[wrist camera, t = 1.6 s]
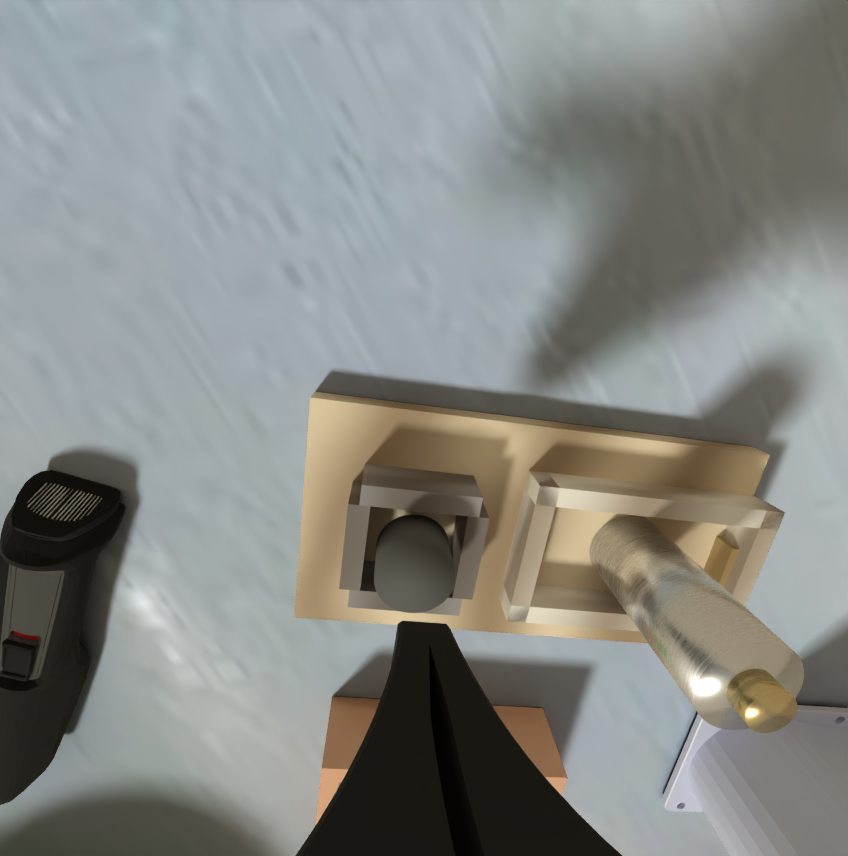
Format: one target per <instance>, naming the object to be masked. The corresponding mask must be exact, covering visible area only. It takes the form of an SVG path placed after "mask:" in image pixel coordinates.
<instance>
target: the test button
mask: <svg viewBox="0 0 848 856" xmlns="http://www.w3.org/2000/svg"><path fill="white" fill-rule="evenodd" d="M455 579H456V576H455V569H454V564H453V560H452V555H451V550H450V546H449V541H448V537H447V534H446V532H445V530H444V529H443V527H442V526H441V525H440V524H439V523H438V522H436V521H435V520H433V519H432V518H429V517H427V516H423V515H417V514H410V515H404V516H401V517H398V518H396V519H394V520H392V521H390V522H389V523H388V524H387V525H386V526H385V527H384V528H383V529H382V530H381V532H380V534H379V536H378V539H377V543H376V556H375V571H374V585H375V589H376V592H377V594H378V595H379V597H380V598H381V600H382V601H383V602H384V603H385V604H387V605H388V606H390V607H391V608H393V609H395V610H398V611H401V612H406V613H421V612H425V611H429V610H431V609H433V608H435V607H437V606H439V605H440V604H442V603H443V602H444V601H445V600H446V599H447V598H448V597H449V595H450V594H451V592H452V590H453V588H454V585H455Z"/></svg>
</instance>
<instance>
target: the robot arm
mask: <svg viewBox="0 0 848 856" xmlns="http://www.w3.org/2000/svg"><path fill="white" fill-rule="evenodd" d="M661 802H662V804H663V806H664V808H665V809H666V810H668V811H681V812H704V813H705V814H706V816H707V818H708V819H709V821H710V823H711V824H712V826H713V828H714V829H715V831H716V833H717V835H718V836H719V838H720V840H721V841H722V843H723V845H724V846H725V848H726V850H727V851H728V853H729V855H730V856H848V708H838V707H821V706H805V705H798V708H797V713H796V715H795V717H794V718H793V719H792V721H791V722H790V723H788V724H787V725H786V726H785V727H783V728H781V729H779V730H777V731H774V732H769V733H759V732H756V731H754V730H752V729H751V728H747V729H740V730H727V729H721V728H717V727H715V726H712V725H710V724H709V723H707V722H706V721H705V720H703V719H702V717H701V716H700V715H699V714H697V717H696V719H695V721H694V724H693V726H692V728H691V731H690V733H689V736H688V738H687V740H686V743H685V745H684V747H683V750H682V752H681V754H680V757H679V759H678V761H677V764H676V766H675V768H674V771H673V773H672V775H671V778H670V780H669V783H668V785H667V787H666V790H665V792H664V794H663V797H662V800H661ZM296 856H622V855H621V854H620V853H619V852H618V851H616V850H615V849H614V848H613V847H612V846H611V845H610V844H609V843H607V842H606V841H605V840H604V839H603V838H602V837H601V836H600V835H599V834H598V833H597V832H596V831H595V830H594V829H593V828H592V827H591V826H590V825H589V824H588V823H587V822H586V821H585V820H584V819H583V818H582V817H581V816H580V815H579V814H578V813H577V812H576V811H575V810H574V809H573V808H572V807H571V805H570V804H569V803H568V802H567V801H566V800H565V799H564V798H563V797H562V796H561V794H560V793H559V792H558V791H557V790H556V789H555V788H554V787H553V786H552V785H551V783H550V782H549V781H548V780H547V779H546V778H545V777H544V775H543V774H542V773H541V772H540V771H539V769H538V768H537V767H536V766H535V764H534V763H533V762H532V761H531V760H530V758H529V757H528V756H527V754H526V753H525V752H524V751H523V749H522V748H521V747H520V745H519V744H518V743H517V741H516V740H515V739H514V737H513V736H512V734H511V733H510V732H509V730H508V729H507V727H506V726H505V725H504V723H503V722H502V720H501V719H500V717H499V716H498V714H497V713H496V711H495V710H494V708H493V706H492V705H491V703H490V702H489V700H488V698H487V697H486V695H485V694H484V692H483V690H482V689H481V687H480V685H479V683H478V682H477V680H476V678H475V677H474V675H473V673H472V671H471V669H470V668H469V666H468V664H467V662H466V660H465V658H464V656H463V654H462V653H461V651H460V649H459V647H458V645H457V643H456V640H455V638H454V636H453V634H452V632H451V630H450V627H449V626H448V625H447V624H443V623H430V622H416V621H401V622H400V623H398V627H397V634H396V640H395V646H394V653H393V659H392V665H391V670H390V673H389V676H388V680H387V683H386V686H385V689H384V691H383V694H382V697H381V699H380V702H379V704H378V707H377V710H376V712H375V715H374V717H373V719H372V722H371V724H370V726H369V728H368V731H367V733H366V735H365V737H364V739H363V741H362V744H361V746H360V748H359V750H358V752H357V754H356V756H355V758H354V760H353V761H352V763H351V765H350V767H349V769H348V771H347V773H346V775H345V777H344V779H343V780H342V782H341V784H340V786H339V788H338V789H337V791H336V793H335V794H334V796H333V798H332V799H331V801H330V803H329V804H328V806H327V808H326V809H325V811H324V813H323V814H322V816H321V818H320V819H319V821H318V823H317V824H316V826H315V828H314V829H313V831H312V832H311V834H310V835H309V837H308V838H307V840H306V841H305V843H304V844H303V846H302V847H301V849H300V850H299V851H298V853H297V854H296Z"/></svg>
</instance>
